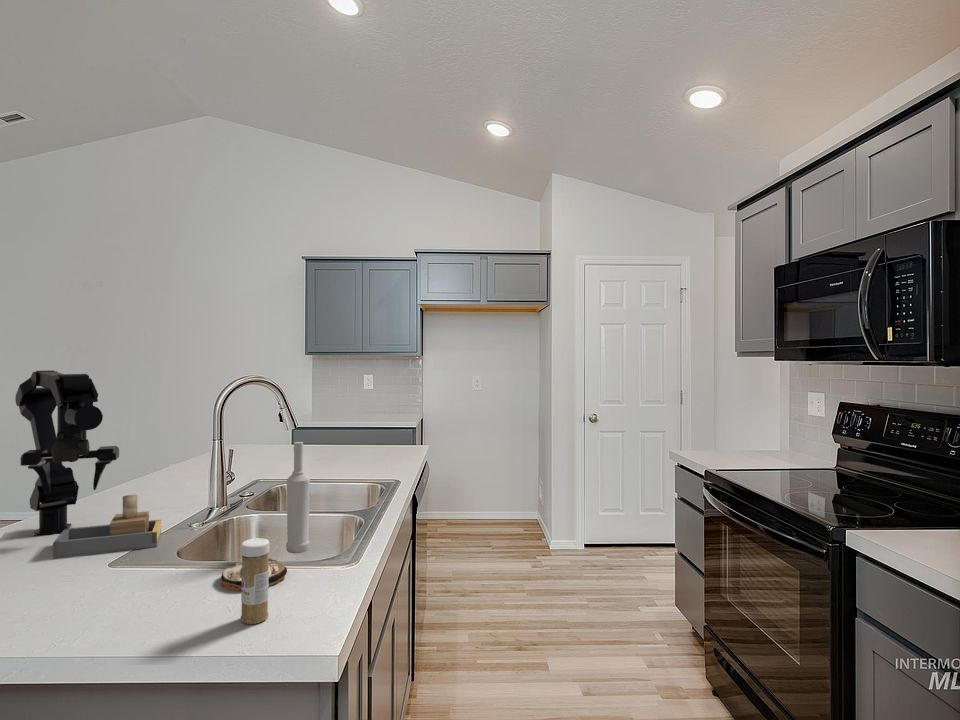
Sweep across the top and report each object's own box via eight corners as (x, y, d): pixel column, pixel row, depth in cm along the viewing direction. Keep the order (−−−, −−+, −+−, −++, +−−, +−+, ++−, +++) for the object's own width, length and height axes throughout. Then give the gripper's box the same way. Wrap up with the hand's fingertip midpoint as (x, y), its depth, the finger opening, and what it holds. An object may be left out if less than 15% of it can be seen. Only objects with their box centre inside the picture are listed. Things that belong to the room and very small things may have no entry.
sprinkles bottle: (235, 619, 99) (235, 541, 99) (260, 610, 103) (260, 535, 103) (249, 628, 96) (249, 547, 96) (274, 618, 100) (274, 541, 100)
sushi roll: (298, 588, 114) (298, 567, 114) (215, 602, 107) (215, 579, 107) (288, 562, 127) (288, 544, 127) (213, 573, 121) (213, 554, 121)
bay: (64, 543, 137) (65, 528, 137) (161, 533, 145) (161, 519, 145) (52, 558, 127) (52, 542, 127) (156, 546, 135) (156, 531, 135)
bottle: (314, 548, 135) (314, 441, 135) (298, 555, 131) (299, 445, 130) (297, 544, 138) (297, 440, 137) (281, 551, 133) (281, 443, 133)
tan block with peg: (115, 534, 140) (115, 493, 140) (149, 531, 143) (149, 491, 143) (109, 545, 132) (109, 501, 132) (145, 541, 135) (145, 498, 135)
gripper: (12, 432, 127) (12, 503, 127) (112, 428, 135) (112, 495, 135) (27, 426, 137) (27, 491, 137) (119, 423, 145) (119, 485, 145)
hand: (72, 491), depth 139 cm, fingers open, 9 cm apart
